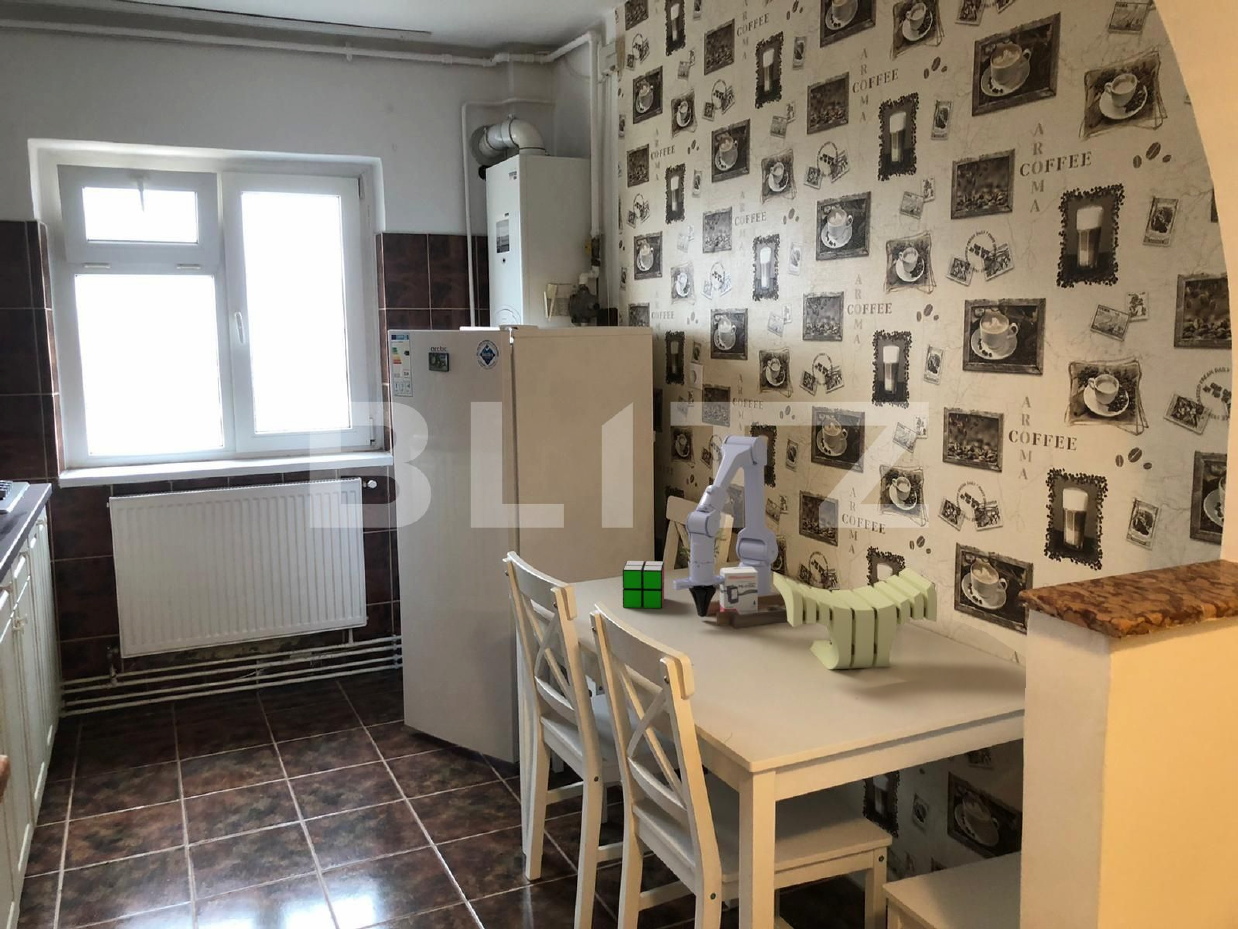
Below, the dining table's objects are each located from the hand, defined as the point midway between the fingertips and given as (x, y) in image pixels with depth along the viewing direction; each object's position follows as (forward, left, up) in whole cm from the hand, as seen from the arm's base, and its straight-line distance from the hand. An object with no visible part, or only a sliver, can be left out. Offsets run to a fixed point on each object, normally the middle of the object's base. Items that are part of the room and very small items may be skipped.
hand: (702, 615), depth 238 cm
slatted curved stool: (+38, +17, -1) cm, 41 cm away
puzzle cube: (-19, -7, -2) cm, 21 cm away
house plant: (-30, +16, -1) cm, 34 cm away
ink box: (0, +10, -1) cm, 10 cm away
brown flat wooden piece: (+2, +17, -1) cm, 18 cm away
